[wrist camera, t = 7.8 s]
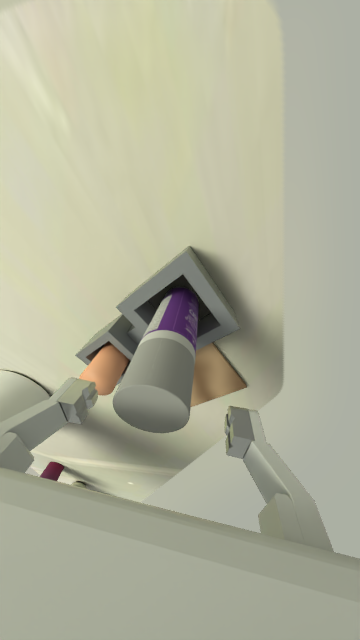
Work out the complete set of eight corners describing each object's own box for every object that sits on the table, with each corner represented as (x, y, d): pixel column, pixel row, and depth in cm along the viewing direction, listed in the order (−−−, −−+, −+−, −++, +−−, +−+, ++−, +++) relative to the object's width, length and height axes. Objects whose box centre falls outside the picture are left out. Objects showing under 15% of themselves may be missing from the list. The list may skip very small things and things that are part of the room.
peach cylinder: (125, 355, 28) (99, 399, 21) (106, 338, 26) (72, 379, 20) (142, 344, 26) (120, 388, 19) (123, 326, 25) (93, 366, 18)
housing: (133, 367, 30) (121, 392, 25) (88, 327, 26) (65, 347, 22) (234, 312, 22) (241, 333, 18) (189, 245, 19) (185, 252, 15)
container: (206, 301, 22) (209, 414, 9) (184, 324, 24) (161, 442, 11) (177, 278, 21) (135, 369, 8) (157, 304, 23) (97, 409, 10)
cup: (60, 471, 61) (22, 537, 48) (43, 462, 59) (-1, 530, 46) (69, 467, 58) (31, 537, 45) (52, 459, 56) (7, 529, 43)
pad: (188, 405, 33) (188, 407, 33) (147, 365, 29) (146, 368, 29) (246, 384, 28) (246, 387, 28) (206, 334, 24) (206, 337, 24)
